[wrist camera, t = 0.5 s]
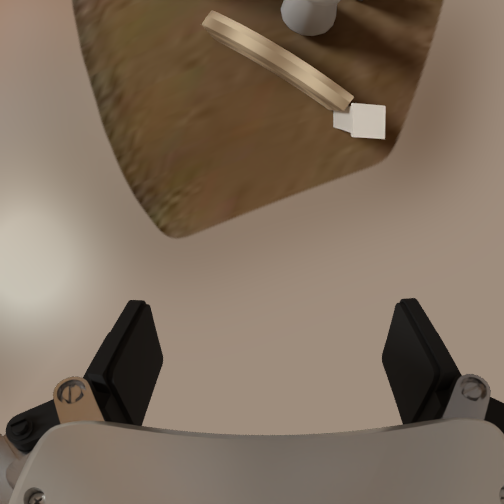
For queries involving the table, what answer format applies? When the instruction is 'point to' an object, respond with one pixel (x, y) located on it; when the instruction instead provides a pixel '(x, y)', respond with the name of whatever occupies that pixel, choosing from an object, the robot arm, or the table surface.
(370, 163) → the table surface
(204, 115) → the table surface
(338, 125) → the gate posts
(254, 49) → the gate
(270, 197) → the table surface
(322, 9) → the salt shaker
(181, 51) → the table surface
